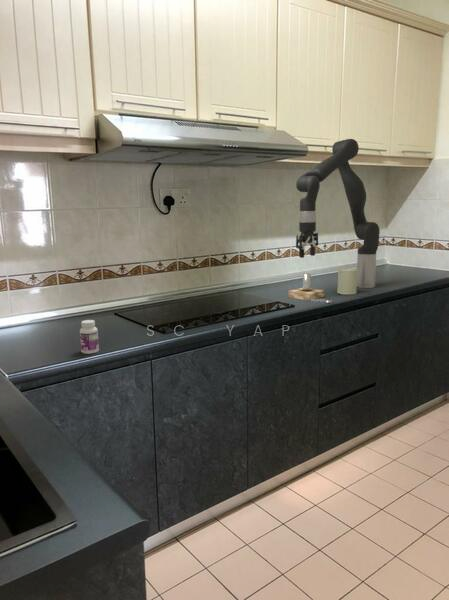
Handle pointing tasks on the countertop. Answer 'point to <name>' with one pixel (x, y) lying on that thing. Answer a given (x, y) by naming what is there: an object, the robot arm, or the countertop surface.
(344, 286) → the can
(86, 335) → the pill bottle
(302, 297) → the socket block
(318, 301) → the bar
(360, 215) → the robot arm
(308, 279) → the pin
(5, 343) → the countertop surface
